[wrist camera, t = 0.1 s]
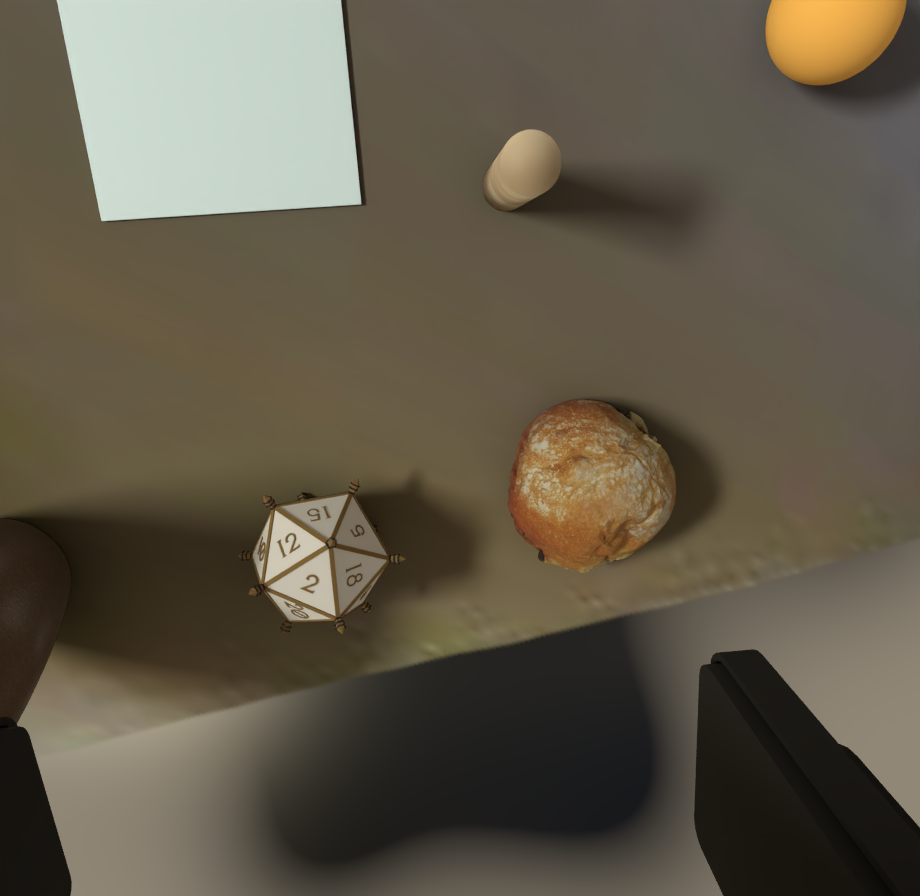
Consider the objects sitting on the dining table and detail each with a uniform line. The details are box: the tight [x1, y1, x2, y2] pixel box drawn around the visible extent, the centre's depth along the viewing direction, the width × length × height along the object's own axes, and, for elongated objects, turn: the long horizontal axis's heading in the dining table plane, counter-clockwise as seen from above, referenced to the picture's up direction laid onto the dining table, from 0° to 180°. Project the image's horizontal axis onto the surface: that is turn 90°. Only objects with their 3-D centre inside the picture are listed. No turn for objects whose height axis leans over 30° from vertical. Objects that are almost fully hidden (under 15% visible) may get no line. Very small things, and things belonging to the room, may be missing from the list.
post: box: [482, 130, 562, 211], centre depth 32 cm, size 3×3×9 cm
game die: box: [238, 479, 406, 635], centre depth 38 cm, size 9×8×10 cm
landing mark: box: [57, 0, 361, 221], centre depth 34 cm, size 14×14×1 cm
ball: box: [766, 0, 907, 85], centre depth 32 cm, size 6×6×6 cm
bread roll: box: [508, 399, 676, 573], centre depth 39 cm, size 10×10×8 cm
